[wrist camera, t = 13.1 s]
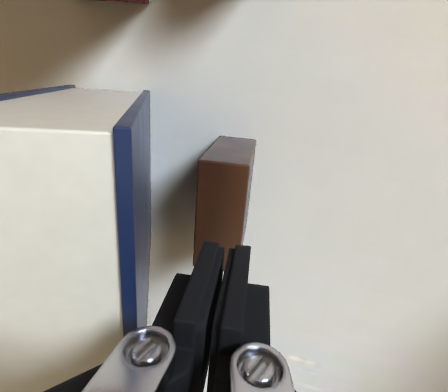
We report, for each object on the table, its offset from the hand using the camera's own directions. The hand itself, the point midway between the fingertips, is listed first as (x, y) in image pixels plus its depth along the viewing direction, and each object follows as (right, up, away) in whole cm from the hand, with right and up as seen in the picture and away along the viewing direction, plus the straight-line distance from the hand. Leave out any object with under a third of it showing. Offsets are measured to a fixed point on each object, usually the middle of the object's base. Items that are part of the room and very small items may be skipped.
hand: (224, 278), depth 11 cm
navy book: (-4, +2, +4) cm, 6 cm away
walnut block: (+1, +4, +11) cm, 12 cm away
